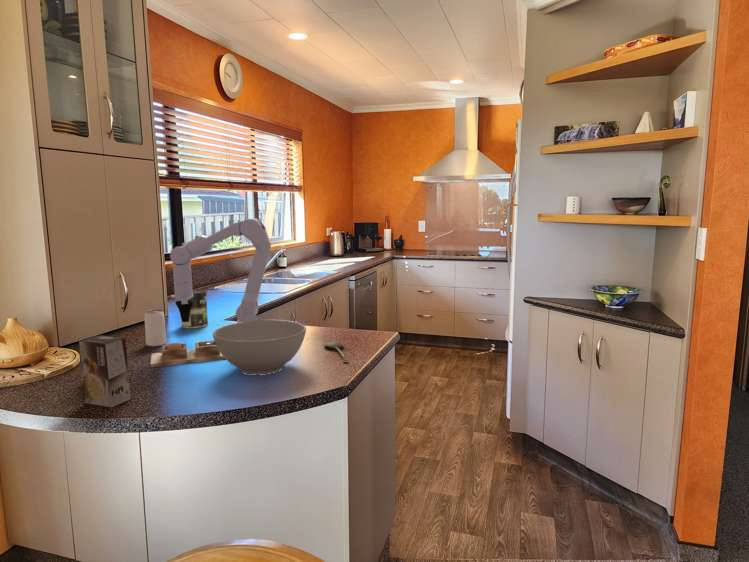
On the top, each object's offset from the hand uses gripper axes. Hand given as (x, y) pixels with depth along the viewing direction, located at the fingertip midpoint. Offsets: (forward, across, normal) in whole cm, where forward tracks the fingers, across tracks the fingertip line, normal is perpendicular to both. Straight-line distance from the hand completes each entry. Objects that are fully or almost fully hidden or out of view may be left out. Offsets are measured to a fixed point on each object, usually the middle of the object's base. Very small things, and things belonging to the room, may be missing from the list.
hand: (185, 321), depth 176 cm
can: (+10, -10, -10) cm, 17 cm away
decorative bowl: (+10, +33, +20) cm, 40 cm away
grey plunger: (+8, +12, +6) cm, 16 cm away
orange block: (+8, +12, -4) cm, 15 cm away
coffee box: (+10, +44, -20) cm, 49 cm away
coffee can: (+10, -35, +4) cm, 37 cm away
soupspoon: (+10, +26, +46) cm, 54 cm away
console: (+9, +12, +1) cm, 15 cm away
